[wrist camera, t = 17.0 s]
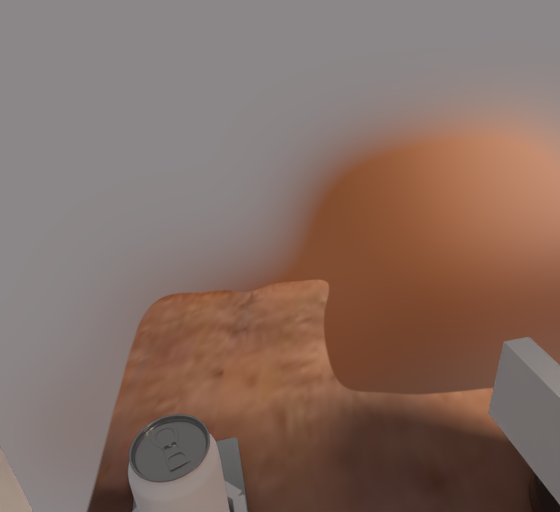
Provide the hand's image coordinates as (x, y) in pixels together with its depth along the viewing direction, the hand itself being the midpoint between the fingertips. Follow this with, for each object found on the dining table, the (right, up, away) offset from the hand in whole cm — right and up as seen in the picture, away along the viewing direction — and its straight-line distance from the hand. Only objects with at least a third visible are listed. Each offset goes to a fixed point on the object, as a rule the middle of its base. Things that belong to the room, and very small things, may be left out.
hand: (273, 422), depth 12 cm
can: (-7, -20, +26) cm, 33 cm away
